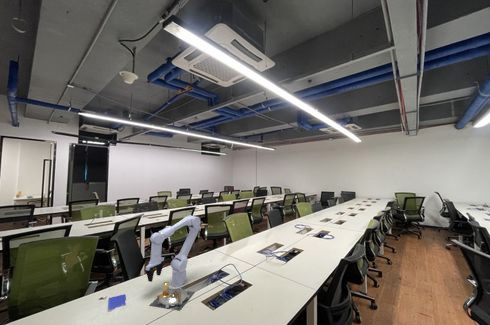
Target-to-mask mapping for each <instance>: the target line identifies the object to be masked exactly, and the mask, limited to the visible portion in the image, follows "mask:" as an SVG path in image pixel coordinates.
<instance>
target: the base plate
mask: <svg viewBox="0 0 490 325" xmlns="http://www.w3.org/2000/svg"><path fill="white" fill-rule="evenodd" d="M170 289H171V288H170V287H169V290H170ZM188 291H189V293H187V295H190V298H189V299H186V300H185V301H184V302H183V303H182V305H180V306H179V305H175V306H169V308H166V306H164V305H162V304H159V305H158V304H157V301H159V298H157V297H156V299H154V301H152V302H151V303H150V304H149V305H148V307H153V308H158V309H159V308H161V309H164V310H165V309H166V310H172V311H178V312H181V311H182V309H183V308H184V307H185V306H186V304H188V302H189V301H190V299H191V298H192V297H193V296H194V295H195V293H196V291H191V290H188Z"/></svg>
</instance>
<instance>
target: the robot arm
mask: <svg viewBox="0 0 490 325" xmlns="http://www.w3.org/2000/svg"><path fill="white" fill-rule="evenodd" d="M201 223H202V222H201V218H200V217H199V216H194V215H191V214H189V215H186V216H185V217H183V218H182V219H181V220H180V221H178V222H176V223H175V224H173V225H166V226H165V227H164V228H163V229H161V230H159V231H158V232H154V233H152V234H151V236H150V238H149V241H150V243H151V246H150V247H151V248H150V249H151V250H150V260H149V261H148V264H147V265H146V266H145V268H144V272H145V275H146V276H147V282H153V279H154V274H156V276H161V275H162V270H163V268H164V266H165V264H166V263H165V262H166V261H165V257H163V256H162V246H163V242H164V241H165V239H168V238H169V237H171V236H172V235H174V233H175V231H177V230H179V229H181V228H182V227H184V226H188V228H189V231H188V232H189V233H188V234H187V236H186V239H185V241H184V243H183V245H182V247H181V249H180V251H179V253H178V254H177V255H175V257H174V258H173V259H172V260H171V262H170V267H171V269H172V272H171V273H172V274H171V287H173V288H178V287H180V288H181V287H182V286H183V285H184V283H185V282H186V281H187V270H186V269H187V266H188V262H189V261H188V260H189V259H188V255H189V252H190V251H191V249H192V247H193V244H194V242H195V240H196V238H197V236H198V234H199V232H200V226H201ZM154 267H155V268H154ZM155 271H156V273H155Z"/></svg>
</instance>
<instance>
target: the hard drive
mask: <svg viewBox="0 0 490 325" xmlns="http://www.w3.org/2000/svg"><path fill="white" fill-rule="evenodd" d="M126 302H127V295H126V293H124V294H119V295H116V296H115V295H114V296H112V297H109V298H108V305H107V313H109V312H112V311H114V310H115V309H117V308H120V307H125V306H126V305H127V304H126Z"/></svg>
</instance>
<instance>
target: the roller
mask: <svg viewBox="0 0 490 325" xmlns="http://www.w3.org/2000/svg"><path fill="white" fill-rule="evenodd" d="M169 288H170V282H169V281H164V282H163V284H162V293H163V296H167V295H168V294H169Z"/></svg>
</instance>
